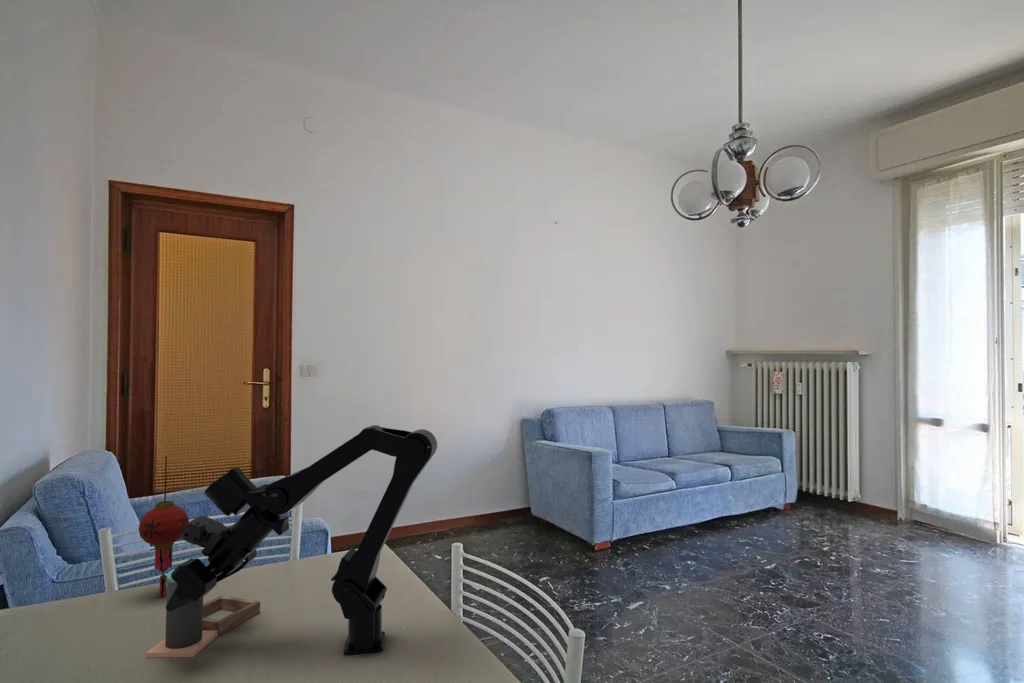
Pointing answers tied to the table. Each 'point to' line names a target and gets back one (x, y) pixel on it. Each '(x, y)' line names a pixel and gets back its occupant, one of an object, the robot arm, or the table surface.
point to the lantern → (163, 532)
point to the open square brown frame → (242, 613)
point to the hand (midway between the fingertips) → (184, 598)
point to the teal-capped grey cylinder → (183, 621)
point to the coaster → (189, 651)
